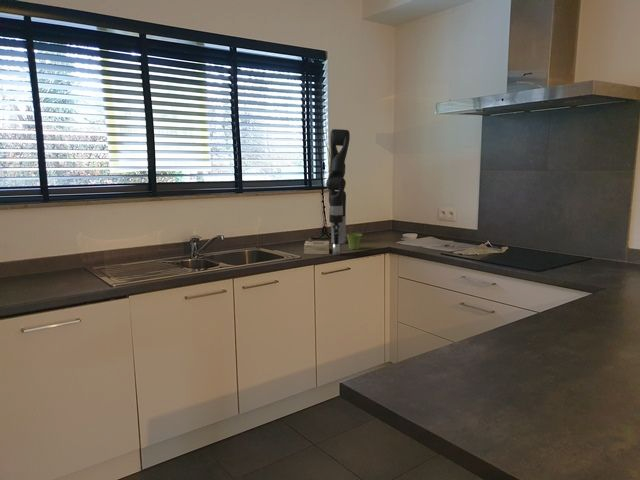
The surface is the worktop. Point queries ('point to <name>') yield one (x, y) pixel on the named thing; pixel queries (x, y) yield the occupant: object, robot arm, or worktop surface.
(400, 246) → the worktop surface
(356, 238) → the plant pot
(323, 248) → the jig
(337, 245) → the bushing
